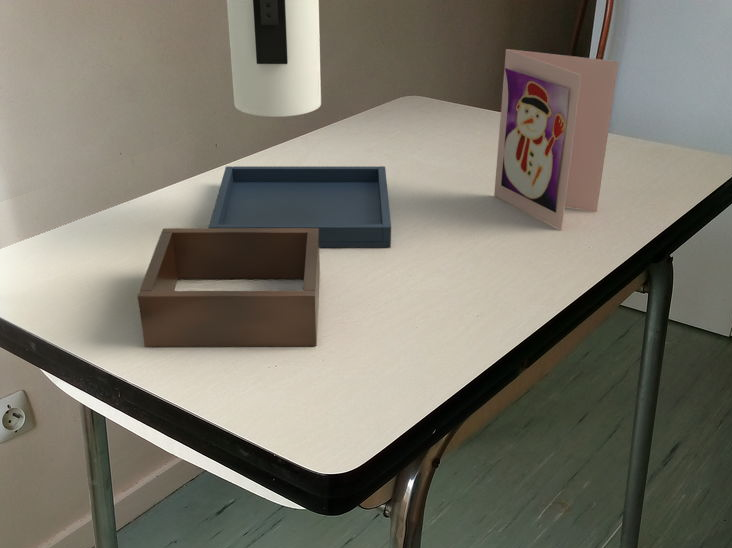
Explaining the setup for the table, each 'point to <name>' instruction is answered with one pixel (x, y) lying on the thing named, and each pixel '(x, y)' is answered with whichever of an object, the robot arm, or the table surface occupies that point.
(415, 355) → the table surface
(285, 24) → the robot arm
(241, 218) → the tray
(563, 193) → the greeting card
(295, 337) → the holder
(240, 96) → the cup
